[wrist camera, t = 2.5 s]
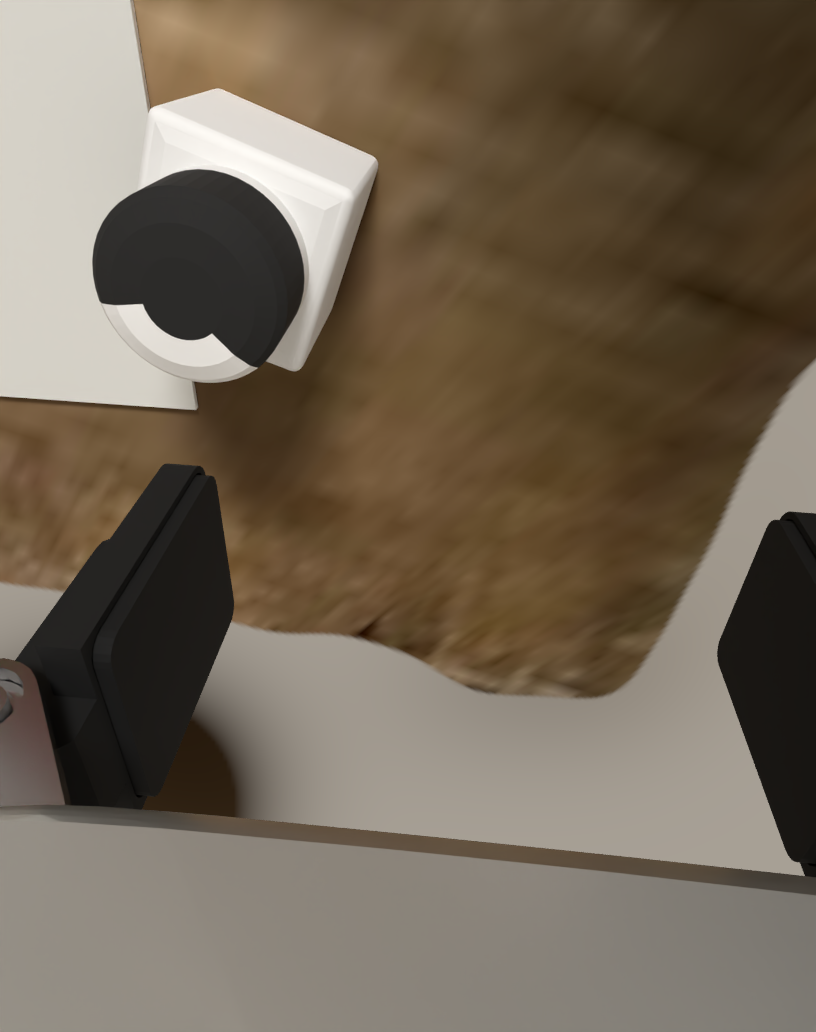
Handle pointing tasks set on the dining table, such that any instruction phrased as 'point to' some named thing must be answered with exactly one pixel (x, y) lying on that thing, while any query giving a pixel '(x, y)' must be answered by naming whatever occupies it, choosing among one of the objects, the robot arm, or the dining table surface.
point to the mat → (69, 199)
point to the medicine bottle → (229, 238)
